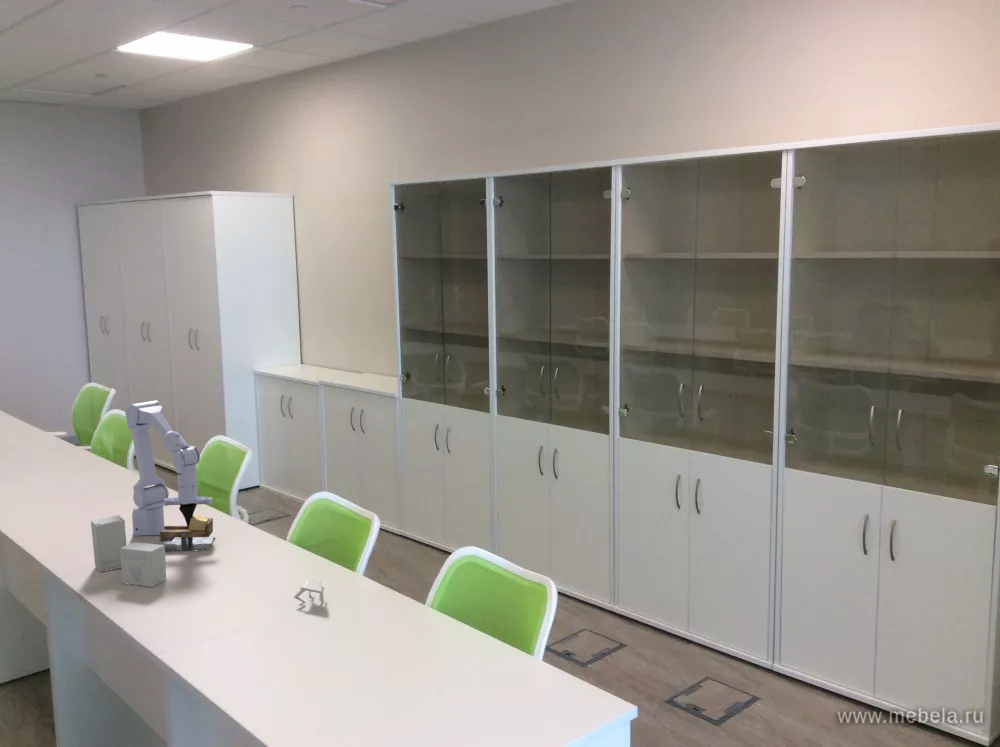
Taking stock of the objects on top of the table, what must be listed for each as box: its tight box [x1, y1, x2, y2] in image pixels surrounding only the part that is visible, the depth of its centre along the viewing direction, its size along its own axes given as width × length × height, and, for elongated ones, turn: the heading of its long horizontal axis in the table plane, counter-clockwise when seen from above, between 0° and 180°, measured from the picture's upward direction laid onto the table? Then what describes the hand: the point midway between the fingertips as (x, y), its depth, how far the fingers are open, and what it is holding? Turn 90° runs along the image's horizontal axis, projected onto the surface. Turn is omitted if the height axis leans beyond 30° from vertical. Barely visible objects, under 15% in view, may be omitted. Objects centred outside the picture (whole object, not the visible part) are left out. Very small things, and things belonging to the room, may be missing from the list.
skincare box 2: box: [120, 541, 167, 588], centre depth 239 cm, size 10×6×10 cm, turn 74°
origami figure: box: [293, 578, 325, 611], centre depth 225 cm, size 12×8×5 cm
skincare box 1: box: [90, 514, 128, 573], centre depth 249 cm, size 8×6×15 cm
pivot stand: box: [162, 534, 213, 553], centre depth 270 cm, size 15×12×5 cm
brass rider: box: [188, 514, 211, 531], centre depth 269 cm, size 5×4×4 cm
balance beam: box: [159, 517, 214, 542], centre depth 269 cm, size 15×6×6 cm, turn 97°
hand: (189, 526), depth 269 cm, fingers closed, pressing on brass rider
